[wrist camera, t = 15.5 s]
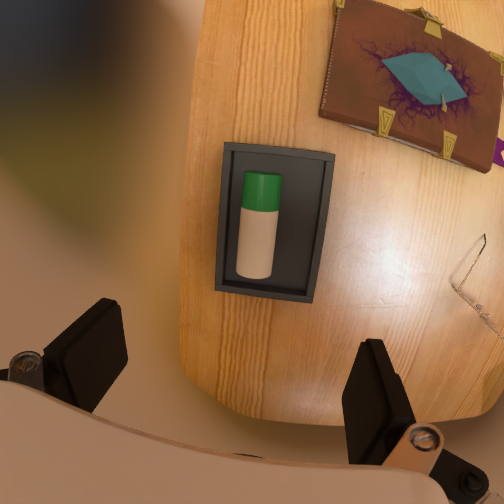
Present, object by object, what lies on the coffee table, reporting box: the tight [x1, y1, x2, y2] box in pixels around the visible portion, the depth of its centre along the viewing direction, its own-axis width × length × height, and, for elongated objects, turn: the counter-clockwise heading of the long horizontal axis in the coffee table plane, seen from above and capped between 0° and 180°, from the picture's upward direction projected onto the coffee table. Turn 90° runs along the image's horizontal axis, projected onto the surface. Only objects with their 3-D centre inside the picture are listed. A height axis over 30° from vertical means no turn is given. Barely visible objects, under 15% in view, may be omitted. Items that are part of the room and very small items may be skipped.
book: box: [319, 0, 504, 174], centre depth 22 cm, size 16×25×5 cm, turn 80°
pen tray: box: [215, 142, 335, 304], centre depth 31 cm, size 16×11×2 cm
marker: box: [236, 171, 282, 279], centre depth 30 cm, size 10×4×4 cm
